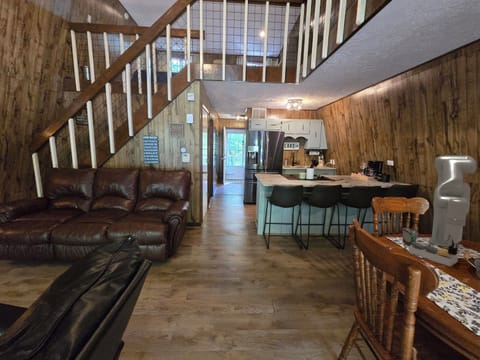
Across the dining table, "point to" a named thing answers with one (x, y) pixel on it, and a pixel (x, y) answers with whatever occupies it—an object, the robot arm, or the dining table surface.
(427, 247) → the rocker
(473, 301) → the dining table surface
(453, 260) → the grey tray
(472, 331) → the dining table surface
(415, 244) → the rocker
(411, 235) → the food container
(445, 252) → the rocker
